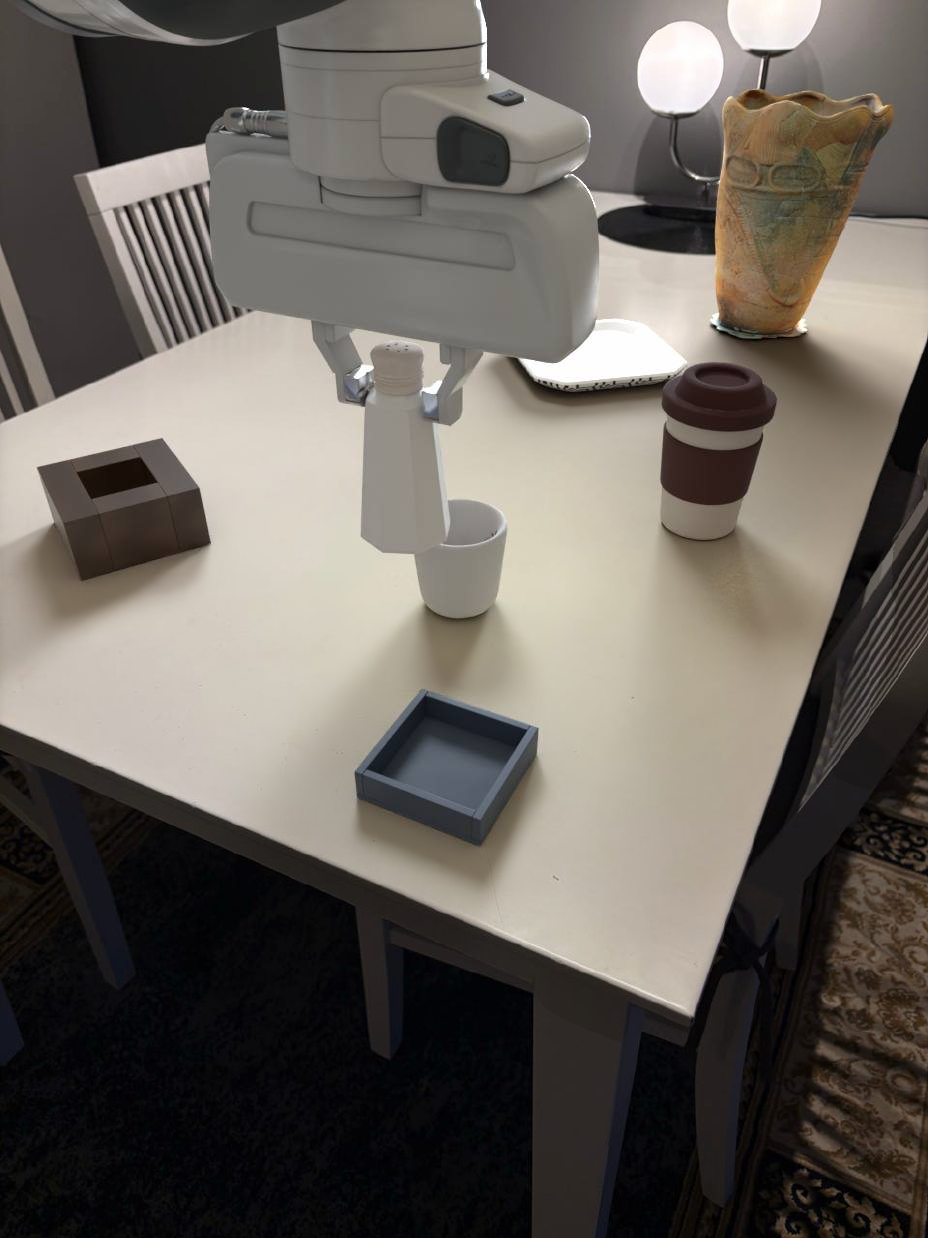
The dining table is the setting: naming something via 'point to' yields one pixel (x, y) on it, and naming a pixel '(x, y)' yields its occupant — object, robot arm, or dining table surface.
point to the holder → (124, 507)
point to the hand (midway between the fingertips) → (400, 410)
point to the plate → (611, 360)
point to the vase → (786, 201)
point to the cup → (464, 561)
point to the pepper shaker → (401, 457)
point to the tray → (448, 765)
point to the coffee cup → (711, 446)
